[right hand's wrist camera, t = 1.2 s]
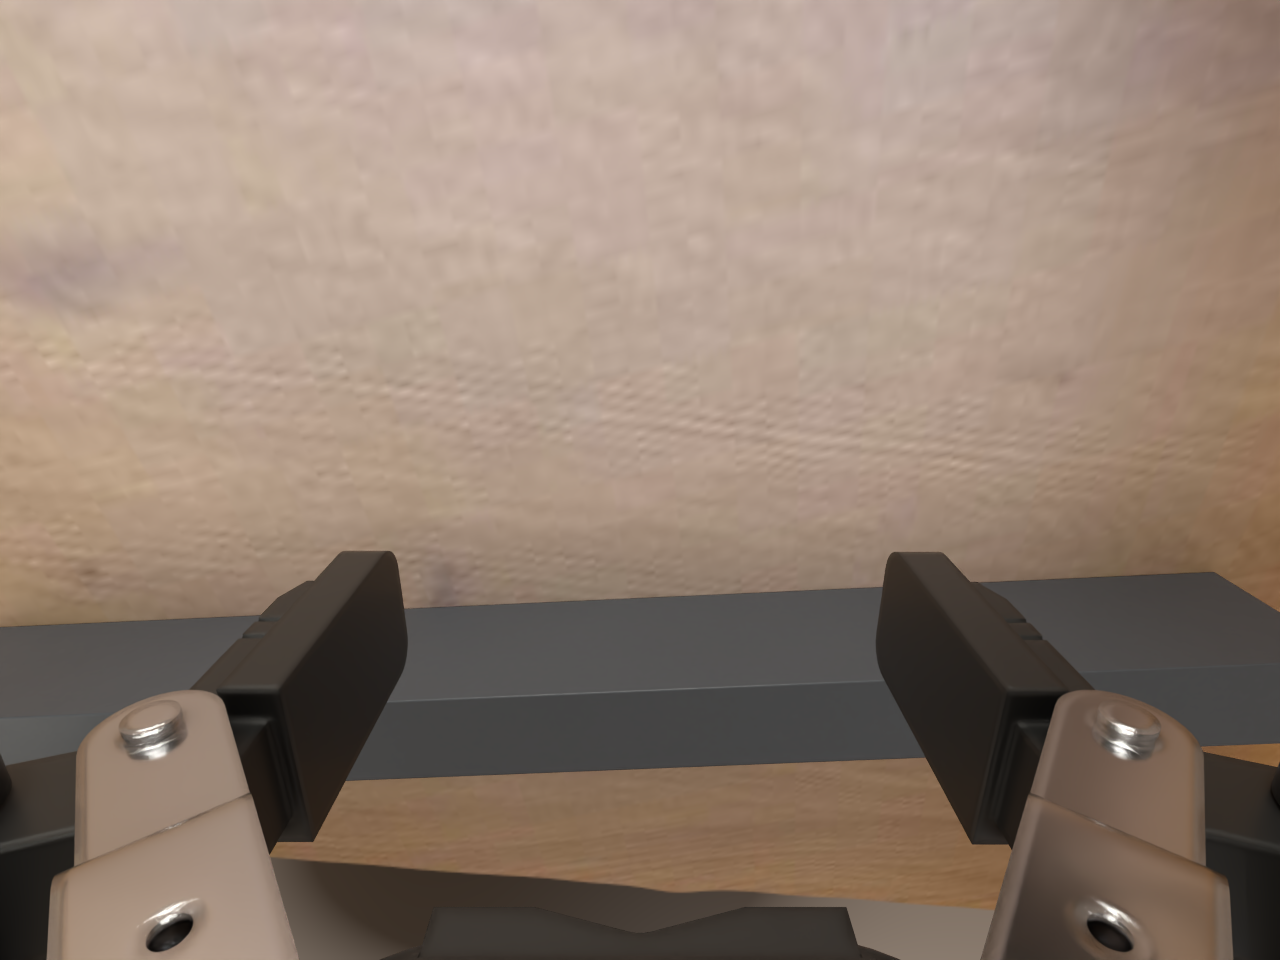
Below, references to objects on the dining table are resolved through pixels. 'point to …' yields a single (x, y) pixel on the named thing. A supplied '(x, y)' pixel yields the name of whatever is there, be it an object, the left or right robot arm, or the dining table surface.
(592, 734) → the bar
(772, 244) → the dining table surface
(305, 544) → the dining table surface
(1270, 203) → the dining table surface
